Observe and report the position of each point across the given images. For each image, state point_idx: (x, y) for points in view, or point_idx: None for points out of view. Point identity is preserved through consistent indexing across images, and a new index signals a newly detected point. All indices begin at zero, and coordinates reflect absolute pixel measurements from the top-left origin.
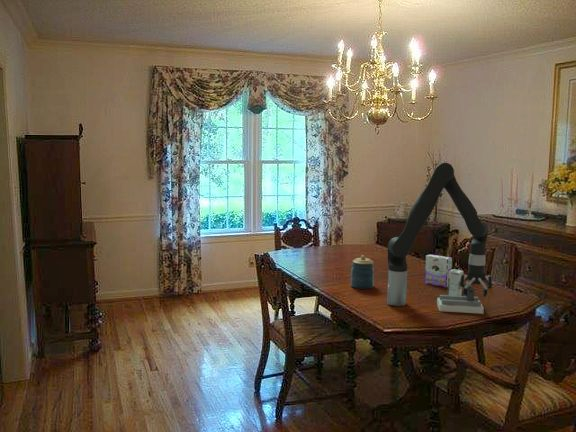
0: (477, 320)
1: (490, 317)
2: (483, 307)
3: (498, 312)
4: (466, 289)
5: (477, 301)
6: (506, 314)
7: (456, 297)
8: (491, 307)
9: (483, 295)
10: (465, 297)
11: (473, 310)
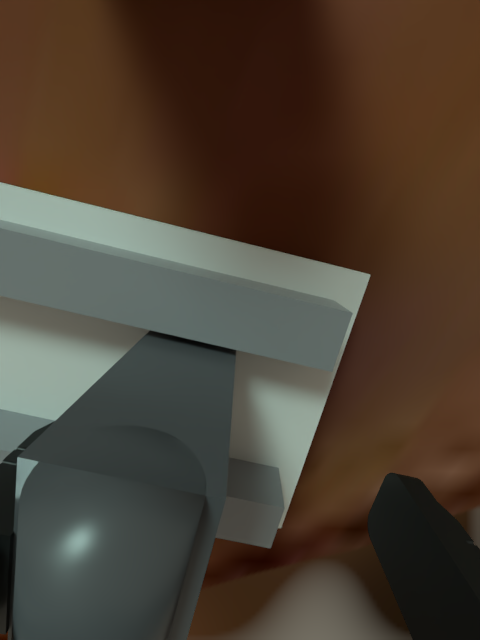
0: None
1: (289, 549)
2: (280, 525)
3: (425, 452)
4: (2, 603)
5: (242, 510)
6: (460, 498)
7: (17, 294)
8: (452, 316)
9: (385, 505)
10: (141, 341)
11: None
